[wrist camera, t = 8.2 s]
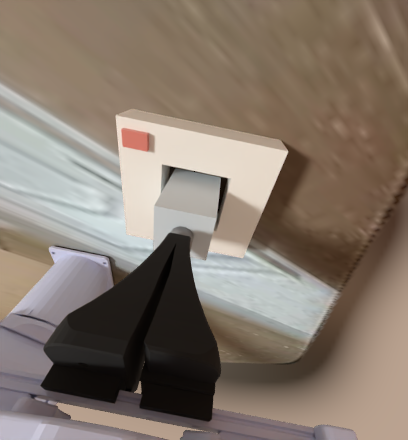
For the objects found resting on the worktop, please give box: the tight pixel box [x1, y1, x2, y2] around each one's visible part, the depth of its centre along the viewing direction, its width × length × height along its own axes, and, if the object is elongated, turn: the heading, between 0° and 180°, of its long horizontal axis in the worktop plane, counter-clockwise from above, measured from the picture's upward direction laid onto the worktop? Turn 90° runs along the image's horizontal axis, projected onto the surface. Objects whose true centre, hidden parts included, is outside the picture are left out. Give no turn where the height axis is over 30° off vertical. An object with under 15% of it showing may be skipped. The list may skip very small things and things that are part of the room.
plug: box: [153, 168, 221, 260], centre depth 16 cm, size 4×4×8 cm
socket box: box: [116, 109, 288, 258], centre depth 18 cm, size 11×12×3 cm
